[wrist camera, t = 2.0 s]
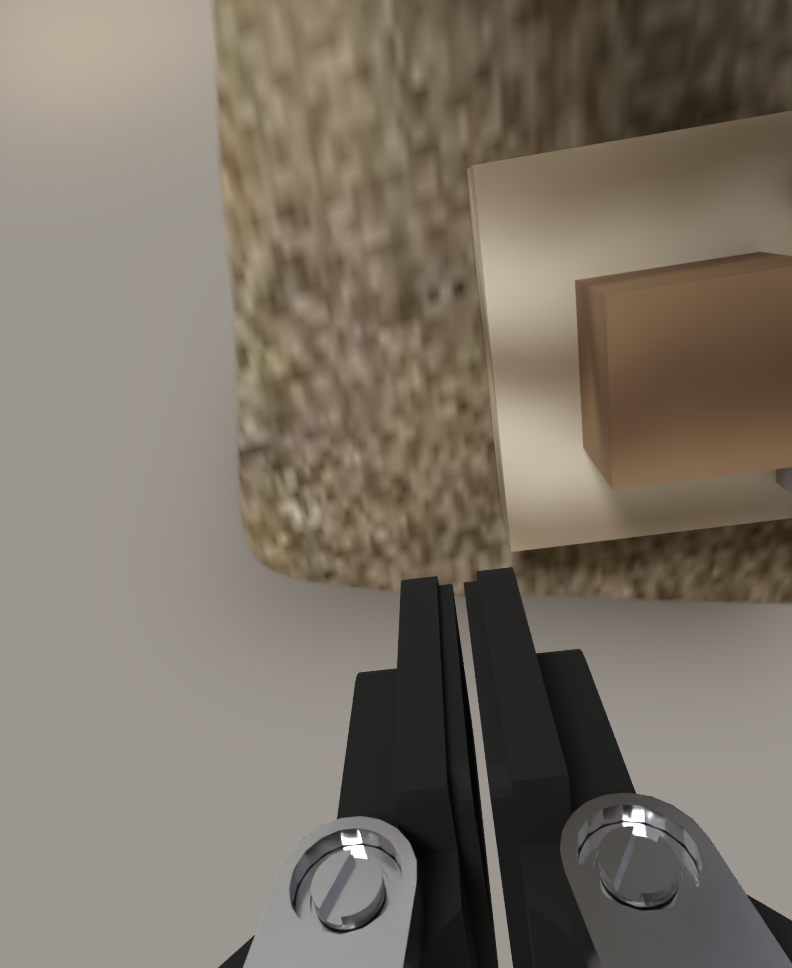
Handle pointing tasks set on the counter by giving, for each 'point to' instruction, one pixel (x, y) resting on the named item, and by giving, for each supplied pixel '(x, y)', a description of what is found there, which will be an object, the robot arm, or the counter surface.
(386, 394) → the counter surface
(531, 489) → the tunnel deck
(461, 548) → the counter surface
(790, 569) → the counter surface
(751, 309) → the walnut block
